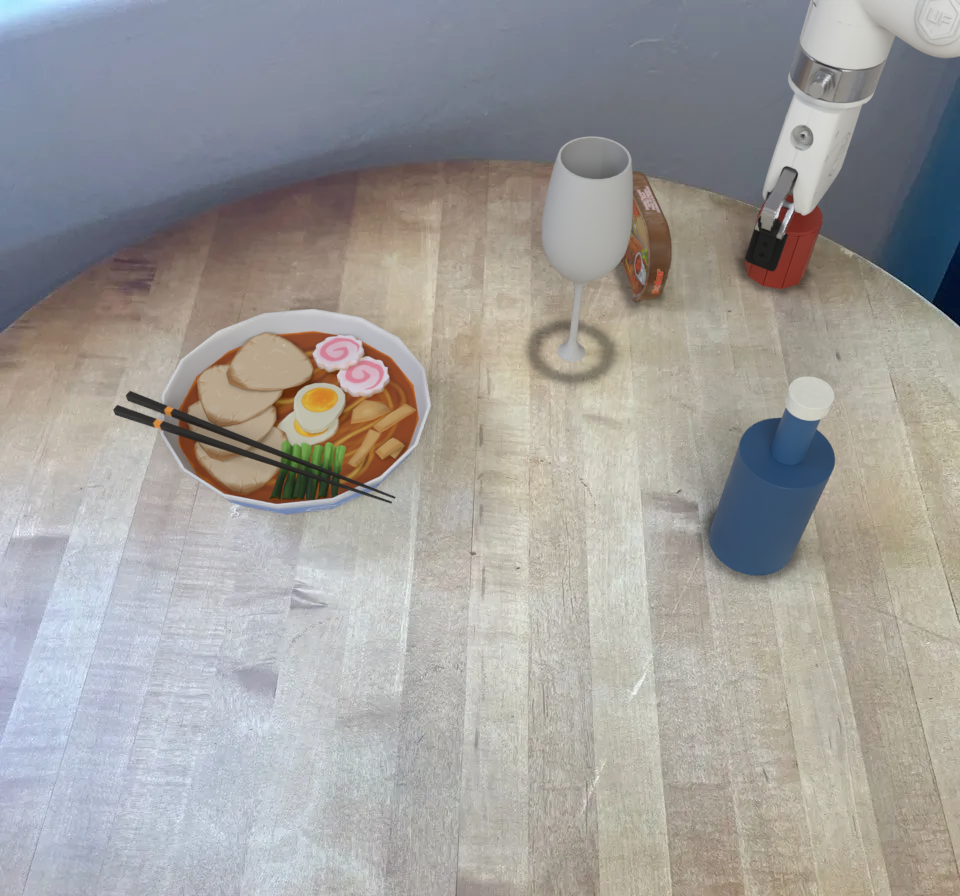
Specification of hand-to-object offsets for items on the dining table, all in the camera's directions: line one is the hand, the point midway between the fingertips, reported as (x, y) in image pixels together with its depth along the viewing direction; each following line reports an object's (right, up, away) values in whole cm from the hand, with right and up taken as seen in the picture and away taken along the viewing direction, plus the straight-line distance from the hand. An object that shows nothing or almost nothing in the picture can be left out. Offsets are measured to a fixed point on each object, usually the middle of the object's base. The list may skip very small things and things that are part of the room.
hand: (779, 238), depth 100 cm
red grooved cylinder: (0, -3, +4) cm, 4 cm away
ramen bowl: (-46, -24, -10) cm, 53 cm away
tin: (-14, -2, +4) cm, 15 cm away
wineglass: (-21, -13, -3) cm, 25 cm away
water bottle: (-7, -33, -15) cm, 36 cm away
